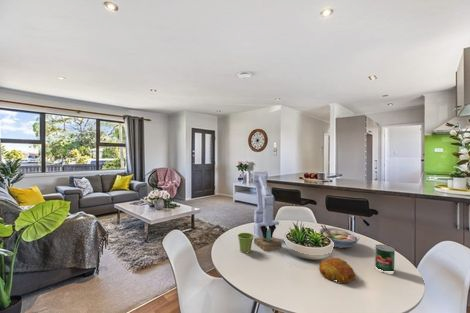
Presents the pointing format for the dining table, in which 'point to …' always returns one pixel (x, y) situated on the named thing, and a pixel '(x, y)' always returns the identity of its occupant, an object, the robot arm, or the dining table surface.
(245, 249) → the plant pot
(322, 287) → the dining table surface
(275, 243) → the socket block
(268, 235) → the peg
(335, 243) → the ramen bowl
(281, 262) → the dining table surface
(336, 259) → the golden brown oval lump
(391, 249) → the canned tomato
